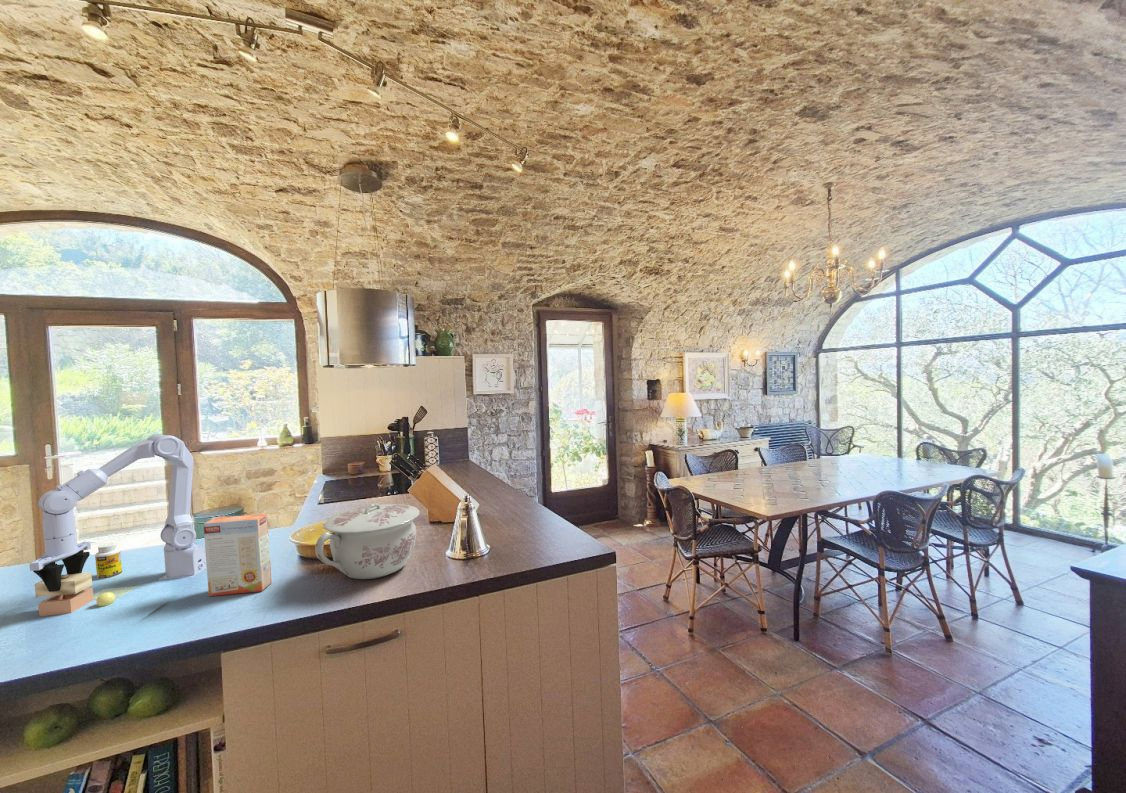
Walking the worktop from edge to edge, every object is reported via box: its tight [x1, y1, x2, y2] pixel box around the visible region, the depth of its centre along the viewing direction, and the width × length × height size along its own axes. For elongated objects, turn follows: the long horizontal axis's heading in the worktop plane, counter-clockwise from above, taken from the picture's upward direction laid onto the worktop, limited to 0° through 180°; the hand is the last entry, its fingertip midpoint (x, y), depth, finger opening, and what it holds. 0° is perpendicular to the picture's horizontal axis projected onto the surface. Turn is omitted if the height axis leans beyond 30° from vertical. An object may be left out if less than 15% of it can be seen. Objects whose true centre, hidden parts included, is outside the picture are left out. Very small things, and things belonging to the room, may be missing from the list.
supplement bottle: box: [94, 542, 123, 580], centre depth 142 cm, size 6×6×10 cm
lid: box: [34, 572, 93, 598], centre depth 121 cm, size 9×5×4 cm, turn 98°
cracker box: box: [203, 513, 273, 597], centre depth 130 cm, size 14×6×21 cm, turn 97°
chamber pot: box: [314, 502, 421, 580], centre depth 140 cm, size 28×28×21 cm
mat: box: [93, 585, 139, 601], centre depth 129 cm, size 9×7×1 cm
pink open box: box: [37, 587, 94, 617], centre depth 121 cm, size 7×7×4 cm
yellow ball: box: [95, 592, 116, 607], centre depth 123 cm, size 4×4×4 cm
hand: (64, 586), depth 121 cm, fingers closed on lid, 5 cm apart
